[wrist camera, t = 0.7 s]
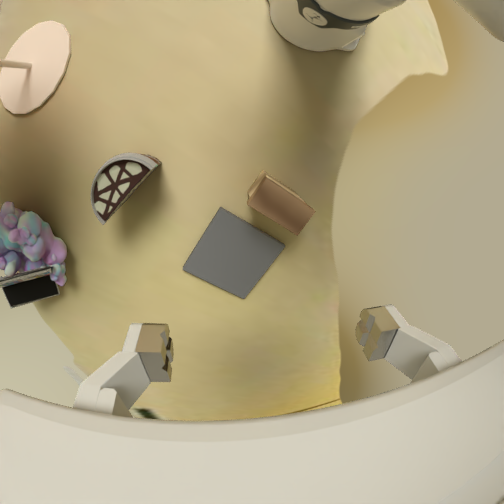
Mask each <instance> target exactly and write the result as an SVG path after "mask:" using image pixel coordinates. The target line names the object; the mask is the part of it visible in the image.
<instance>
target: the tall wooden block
mask: <svg viewBox="0 0 504 504" xmlns="http://www.w3.org/2000/svg"><path fill="white" fill-rule="evenodd" d="M248 195H249V197H250V198H249V199H248V201H247V204H248V205H249V206H250V207H252V208H253V209H255V210H257V211H258V212H260V213H262V214H263V215H265V216H267V217H268V218H270V219H271V220H273V221H275V222H276V223H278V224H279V225H281V226H283V227H284V228H286V229H287V230H289V231H291V232H292V233H294V234H295V235H298V234H299V233H300V231H301V230H302V229H303V227H304V226H305V225H306V224H307V222H308V221H309V220H310V218H311V217H312V216H313V214H314V213H315V211H314V210H313V209H312V208H311V207H310V206H308V205H307V204H306V203H305V202H304V201H303V200H302V199H301V198H300V197H299V195H298V194H297V193H296V192H295V191H293V190H292V189H290V188H289V187H287V186H286V185H284V184H283V183H281V182H280V181H278V180H277V179H275V178H274V177H272V176H271V175H269V174H268V173H266V172H265V171H263V170H262V172H261V173H260V175H259V176H258V178H257V179H256V180H255V182H254V183H253V185H252V186H251V188H250V189H249V190H248Z"/></svg>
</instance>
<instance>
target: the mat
mask: <svg viewBox="0 0 504 504" xmlns="http://www.w3.org/2000/svg"><path fill="white" fill-rule="evenodd" d="M284 247H285V245H284V244H283V243H281V242H280V241H278V240H276V239H275V238H273V237H271V236H270V235H268V234H266V233H265V232H263V231H261V230H259V229H258V228H256V227H254V226H253V225H251V224H249V223H248V222H246V221H244V220H242V219H241V218H239V217H237V216H236V215H234V214H232V213H230V212H229V211H227V210H225V209H223V208H222V207H220V208H219V210H218V212H217V213H216V215H215V216H214V218H213V219H212V221H211V222H210V224H209V226H208V227H207V229H206V230H205V232H204V233H203V235H202V237H201V238H200V240H199V241H198V243H197V245H196V246H195V248H194V250H193V251H192V253H191V254H190V256H189V258H188V259H187V261H186V263H185V264H184V266H183V270H185V271H187V272H189V273H191V274H193V275H195V276H197V277H199V278H201V279H203V280H205V281H207V282H209V283H211V284H213V285H215V286H217V287H219V288H221V289H224V290H226V291H228V292H230V293H232V294H234V295H236V296H238V297H241V298H243V299H244V298H245V297H246V296H247V295H248V293H249V292H250V291H251V290H252V288H253V287H254V286H255V285H256V283H257V282H258V281H259V280H260V278H261V277H262V276H263V274H264V273H265V272H266V271H267V269H268V268H269V267H270V265H271V264H272V263H273V262H274V260H275V259H276V258H277V256H278V255H279V254H280V253H281V251H282V250H283V249H284Z"/></svg>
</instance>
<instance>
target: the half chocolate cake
mask: <svg viewBox="0 0 504 504" xmlns="http://www.w3.org/2000/svg"><path fill="white" fill-rule="evenodd" d="M160 164H161V162H160V161H159V160H158V159H157V158H154V157H152V156H150V155H143V154H137V153H123V154H120V155H116V156H114V157H112V158H111V159H109V160H108V161H107V162H105V164H104V165H103V166H102V167H101V168H100V169H99V171H98V172H97V174H96V176H95V178H94V180H93V183H92V188H91V203H92V207H93V210H94V213H95V215H96V217H97V218H98V220H99V221H100V222H101V223H102V224H103V225H104V224H105V223H106V222H107V220H108V219H109V218H110V217H111V216H112V215H113V214H114V213H115V212H116V211H117V210H118V209H119V207H120V206H121V205H122V204H123V203H124V202H125V201H126V200H127V199H128V198H129V197H130V196H131V195H132V193H133V192H134V191H135V190H136V189H137V188H138V187H139V186H140V185H141V184H142V182H143V181H144V180H145V179H146V178H147V177H148V176H149V175H150V174H151V173H152V172H153V171H154V170H155V169H156V168H157V167H158V166H159V165H160Z"/></svg>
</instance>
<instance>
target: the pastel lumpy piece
mask: <svg viewBox="0 0 504 504" xmlns="http://www.w3.org/2000/svg"><path fill="white" fill-rule="evenodd" d="M66 256H67V247H66V244H65V243H64V241H63V240H62V239H60V238H58V237H55V236H54V235H53V233H52V230H51V228H50V225H49V224H48V223H47V222H45V221H43V220H42V219H41V218H40V217H39V216H38V215H37V214H36V213H34V212H32V211H30V212H27V211H25V212H22V211H21V210H20V209H17V208H15V207H14V204H13V202H5V203H4V204H3V205H2V208H1V212H0V269H1V270H4V271H5V275H6V276H5V277H0V288H2V290H3V292H4V294H5V297H6V299H7V301H8V303H9V305H10V307H11V308H15V307H18V306H22V305H25V304H28V303H32V302H35V301H39V300H42V299H46V298H49V297H53V296H56V295H60V292H59V288H58V285H60V286H63V285H64V284H65V282H66V280H67V279H66V276H65V271H66V269H65V262H64V260H65V258H66ZM17 271H19V272H20V273H16V272H17ZM15 273H16V274H15ZM57 284H58V285H57Z"/></svg>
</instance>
